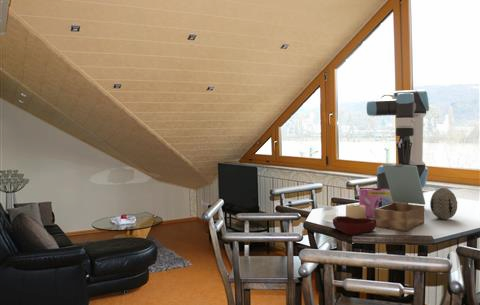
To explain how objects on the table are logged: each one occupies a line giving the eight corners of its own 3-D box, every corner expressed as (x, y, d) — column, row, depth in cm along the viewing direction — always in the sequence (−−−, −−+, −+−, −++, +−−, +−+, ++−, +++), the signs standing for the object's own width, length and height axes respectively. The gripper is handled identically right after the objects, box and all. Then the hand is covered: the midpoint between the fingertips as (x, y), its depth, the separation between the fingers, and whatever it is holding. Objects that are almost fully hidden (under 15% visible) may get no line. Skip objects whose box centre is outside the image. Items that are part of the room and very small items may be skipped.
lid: (381, 165, 193) (383, 163, 194) (392, 202, 203) (393, 200, 204) (415, 167, 183) (416, 164, 184) (424, 206, 193) (425, 203, 194)
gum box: (408, 215, 213) (409, 188, 212) (410, 218, 205) (411, 190, 204) (359, 213, 219) (359, 187, 218) (359, 216, 211) (359, 189, 211)
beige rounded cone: (342, 220, 202) (342, 205, 202) (351, 217, 209) (351, 203, 208) (360, 223, 196) (360, 207, 196) (368, 220, 203) (368, 205, 202)
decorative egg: (462, 221, 198) (463, 189, 198) (438, 221, 197) (438, 189, 197) (448, 216, 210) (448, 186, 209) (425, 216, 209) (425, 186, 208)
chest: (374, 227, 188) (374, 209, 187) (394, 219, 204) (394, 202, 204) (406, 231, 179) (406, 212, 178) (424, 223, 195) (424, 205, 195)
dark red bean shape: (326, 234, 177) (326, 222, 177) (336, 226, 191) (336, 215, 191) (370, 238, 169) (370, 226, 169) (377, 230, 183) (377, 218, 183)
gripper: (407, 127, 185) (407, 181, 186) (418, 127, 195) (417, 178, 196) (390, 127, 190) (390, 179, 191) (401, 127, 200) (401, 177, 201)
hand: (404, 179), depth 194 cm, fingers closed
